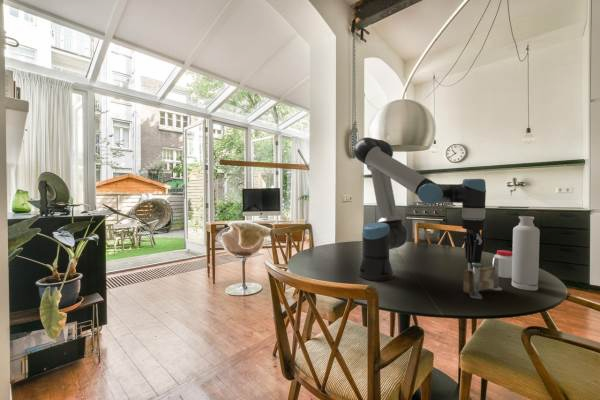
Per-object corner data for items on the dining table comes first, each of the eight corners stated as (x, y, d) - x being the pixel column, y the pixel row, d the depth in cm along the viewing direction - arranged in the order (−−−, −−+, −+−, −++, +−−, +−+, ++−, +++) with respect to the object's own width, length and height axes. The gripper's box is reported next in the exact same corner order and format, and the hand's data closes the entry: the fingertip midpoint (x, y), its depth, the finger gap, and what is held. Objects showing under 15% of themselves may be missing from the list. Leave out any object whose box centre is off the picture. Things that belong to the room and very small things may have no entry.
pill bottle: (507, 273, 125) (508, 249, 125) (519, 278, 118) (519, 253, 117) (489, 272, 126) (490, 249, 126) (500, 278, 119) (500, 253, 118)
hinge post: (489, 289, 104) (489, 259, 104) (487, 286, 108) (487, 256, 108) (503, 291, 102) (503, 260, 102) (500, 287, 106) (501, 257, 106)
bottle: (538, 292, 102) (541, 218, 101) (511, 287, 107) (513, 217, 106) (536, 286, 108) (539, 216, 107) (511, 281, 113) (513, 215, 112)
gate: (489, 285, 106) (489, 265, 106) (495, 287, 104) (495, 267, 104) (462, 290, 101) (462, 269, 100) (468, 293, 98) (468, 271, 98)
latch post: (470, 297, 97) (471, 263, 97) (469, 294, 100) (469, 261, 100) (482, 299, 95) (483, 264, 95) (480, 295, 99) (481, 262, 98)
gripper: (492, 221, 97) (491, 285, 98) (476, 217, 110) (475, 274, 111) (469, 220, 99) (468, 284, 100) (456, 216, 111) (455, 273, 112)
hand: (472, 278), depth 105 cm, fingers closed
